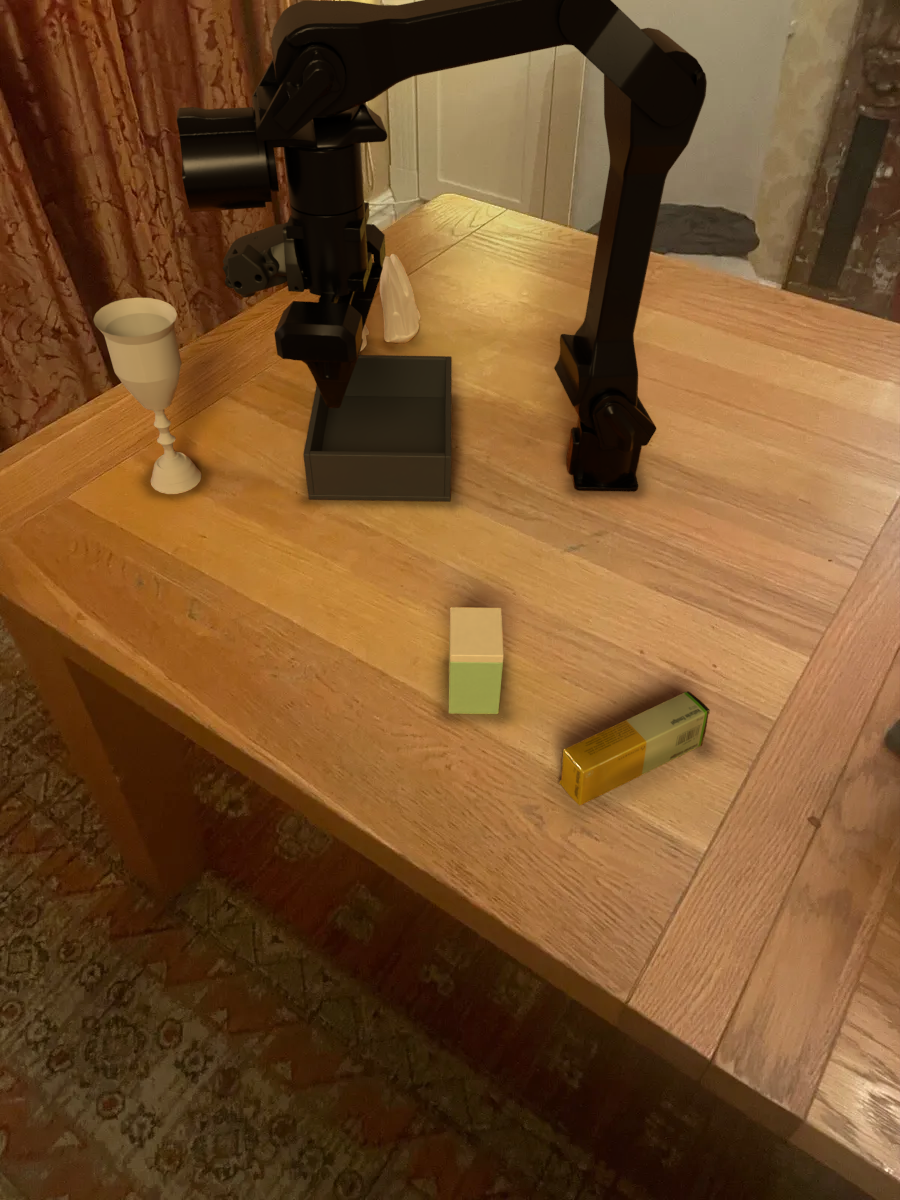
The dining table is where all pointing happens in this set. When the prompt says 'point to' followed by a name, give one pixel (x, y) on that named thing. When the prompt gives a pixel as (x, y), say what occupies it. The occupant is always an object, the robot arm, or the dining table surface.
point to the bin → (384, 433)
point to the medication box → (633, 747)
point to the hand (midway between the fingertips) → (342, 377)
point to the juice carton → (475, 660)
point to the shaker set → (396, 304)
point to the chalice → (150, 375)
